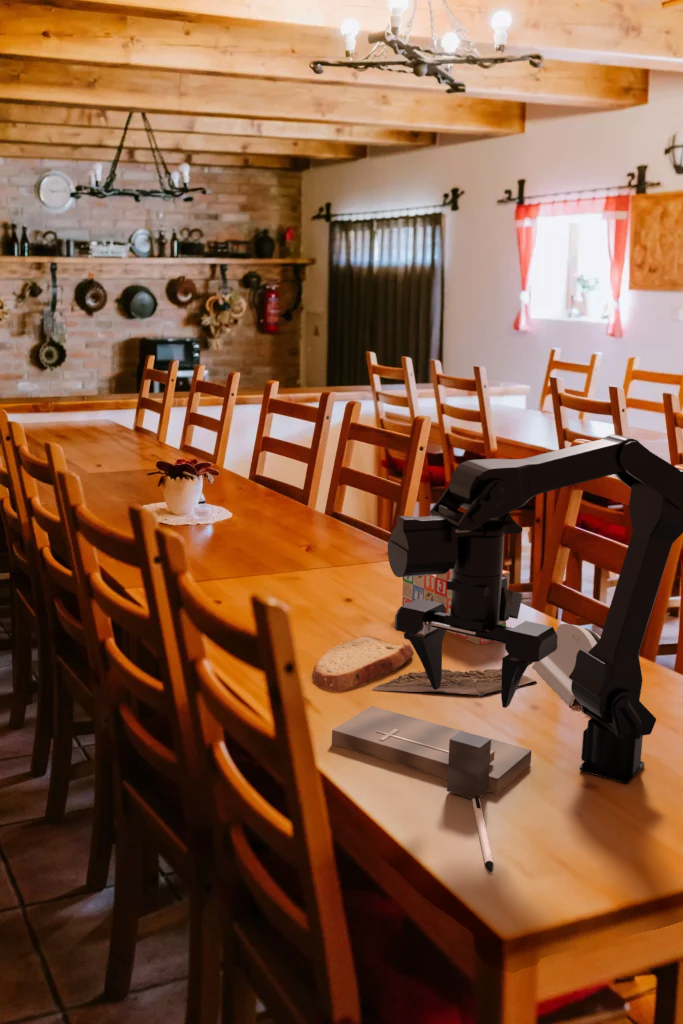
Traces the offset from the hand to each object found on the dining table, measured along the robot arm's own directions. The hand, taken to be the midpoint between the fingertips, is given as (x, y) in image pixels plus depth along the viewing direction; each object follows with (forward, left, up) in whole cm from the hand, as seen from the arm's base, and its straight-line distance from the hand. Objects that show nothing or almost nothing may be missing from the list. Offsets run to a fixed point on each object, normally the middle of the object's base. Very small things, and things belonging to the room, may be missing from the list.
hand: (470, 697), depth 129 cm
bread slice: (+32, -29, -13) cm, 45 cm away
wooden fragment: (+18, -31, -13) cm, 37 cm away
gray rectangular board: (+9, -7, -12) cm, 16 cm away
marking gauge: (0, -2, -12) cm, 12 cm away
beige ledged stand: (+3, -42, -12) cm, 44 cm away
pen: (-6, +7, -13) cm, 16 cm away
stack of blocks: (+31, -56, -12) cm, 66 cm away
